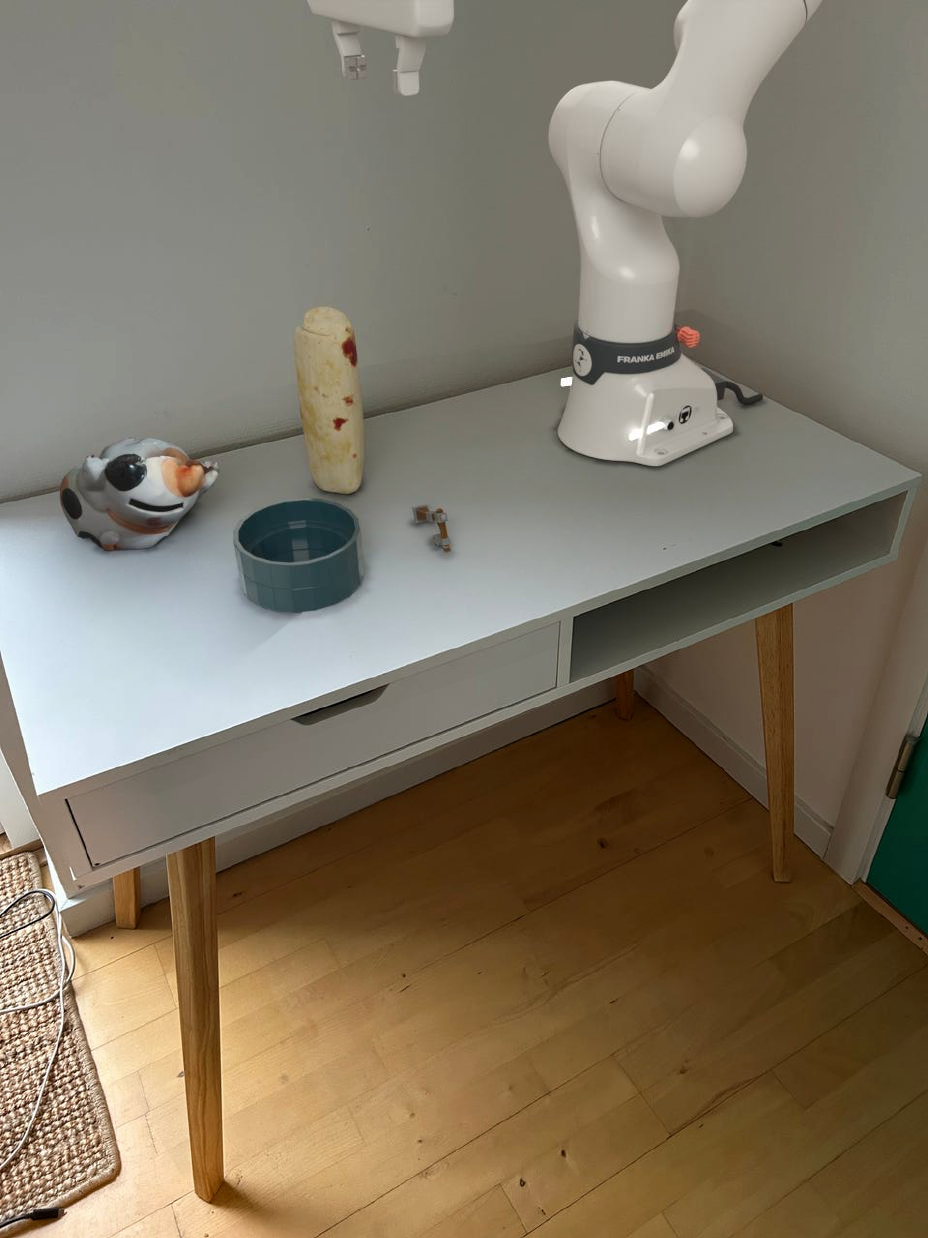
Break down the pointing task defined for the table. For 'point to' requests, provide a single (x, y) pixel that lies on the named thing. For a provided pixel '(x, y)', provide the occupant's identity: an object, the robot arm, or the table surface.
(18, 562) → the table surface
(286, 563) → the teal round bowl
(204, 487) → the lucky cat figurine
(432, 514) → the wooden post with brackets
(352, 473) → the food model
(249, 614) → the table surface
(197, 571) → the table surface
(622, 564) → the table surface
